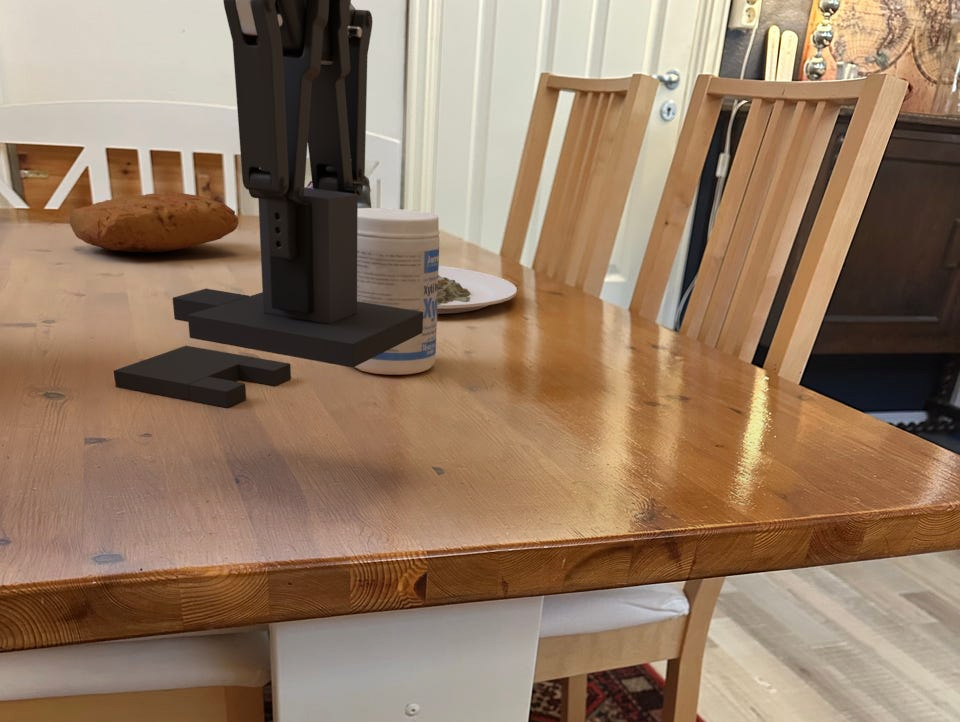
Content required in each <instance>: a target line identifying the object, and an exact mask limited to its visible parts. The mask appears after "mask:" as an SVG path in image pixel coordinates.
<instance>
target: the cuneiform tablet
mask: <svg viewBox="0 0 960 722" xmlns="http://www.w3.org/2000/svg"><path fill="white" fill-rule="evenodd" d="M69 225H70V228H71V229H72V232H73V233H74V235H75V237H76V238H77V239H79V240H81V241H83V242H84V243H86V244H88V245H90V246H93V247H96V248H101V249H104V250H110V251H119V252H120V251H121V252H127V253H143V254H144V253H145V254H151V253H152V254H155V253H166V252H172V251H178V250H184V249H188V248H192V247H196V246H199V245H203V244H207V243H211V242H215V241H218V240H222V239H223V238H224V237H226V236H227V235H230V234H231V233H233V232H234V231H236V230H237V228H238V226H239V217H238V216H237V214H236V211H235V210H234V209H232V208H231V207H230V206H228V205H227V204H225V203H223V202H219V201H217V200H215V199H212V198H209V197H204V196H201V195H196V194H189V193H183V192H165V193H146V194H142V195H134V196H133V195H132V196H122V197H116V198H111V199H106V200H104V201H99V202H95V203H93V204H90V205H89V204H88V206H81V207H77V208H74V209H72V211H71V212H70V213H69Z"/></svg>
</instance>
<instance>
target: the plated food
mask: <svg viewBox="0 0 960 722" xmlns="http://www.w3.org/2000/svg"><path fill="white" fill-rule="evenodd" d="M517 292H518V288H517V287H516V285H515V284H514V283H512V282H511V281H509V280H507V279H506V278H505V279H504V278H502V277H500V276H496V275H493V274H490V273H486V272H481V271H476V270H471V269H467V268H460V267H453V266H446V265H439V271H438V301H437V315H443V314H445V315H446V314H458V313H465V312H472V311H476V310H480V309H484V308H486V307H488V306H491V305H496V304H501V303H504V302H507V301H510V300H511V299H513V298H514V297H516V295H517Z"/></svg>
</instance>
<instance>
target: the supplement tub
mask: <svg viewBox="0 0 960 722" xmlns="http://www.w3.org/2000/svg"><path fill="white" fill-rule="evenodd" d="M439 266H440V230H439V216H438V215H437V214H434V213H431V212H427V211H420V210H412V209H404V208H403V209H401V208H386V207H372V208H358V212H357V301H359V302H365V303H371V304H378V305H384V306H390V307H396V308H402V309H409V310H415V311H421V312H423V331H422V333H421V334H419V335H417V336H415V337H413V338H411V339H409V340H407V341H405V342H403V343H401V344H399V345H397V346H395V347H393V348H391V349H389V350H387V351H385V352H383V353H381V354H379V355H377V356H375V357H373V358H371V359H369V360H367V361H365V362H363V363H361V364H359V365H357V366H355V367H354V368H355V369H356V370H358V371H361V372H365V373H369V374H375V375H386V376H387V375H390V376H398V375H399V376H400V375H413V374H418V373H422V372H426V371H428V370H429V369H431V368H432V367H433V366H434V364H435V362H436V359H437V358H436V357H437V356H436V355H437V329H438V328H437V327H438V314H437V301H438V271H439Z"/></svg>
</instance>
